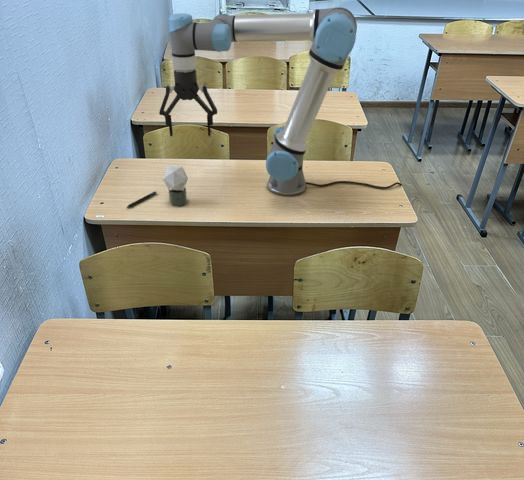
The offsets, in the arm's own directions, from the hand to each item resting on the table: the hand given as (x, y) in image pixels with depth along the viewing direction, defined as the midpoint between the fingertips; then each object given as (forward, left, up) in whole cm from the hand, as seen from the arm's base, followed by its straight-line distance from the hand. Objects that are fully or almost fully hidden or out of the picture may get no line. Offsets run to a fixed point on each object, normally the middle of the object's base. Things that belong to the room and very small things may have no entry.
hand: (190, 134), depth 183 cm
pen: (+19, +7, -23) cm, 31 cm away
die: (+6, +8, -17) cm, 20 cm away
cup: (+6, +8, -23) cm, 25 cm away
